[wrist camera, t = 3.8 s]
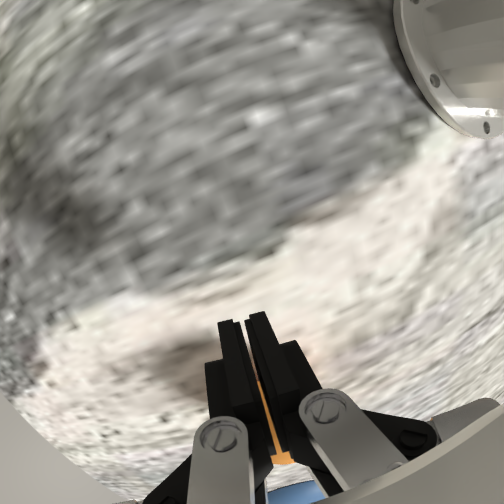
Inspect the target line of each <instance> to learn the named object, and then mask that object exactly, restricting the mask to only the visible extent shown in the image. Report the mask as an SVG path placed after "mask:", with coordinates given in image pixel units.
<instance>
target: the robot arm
mask: <svg viewBox="0 0 504 504" xmlns="http://www.w3.org/2000/svg"><path fill="white" fill-rule="evenodd" d="M393 16H394V25H395V31H396V34H397V38H398V42H399V46H400V49H401V51H402V54H403V56H404V59H405V61H406V64H407V66H408V68H409V70H410V72H411V74H412V76H413V78H414V80H415V82H416V84H417V86H418V87H419V89H420V90H421V92H422V93H423V95H424V97H425V98H426V100H427V101H428V102H429V104H430V105H431V106H432V107H433V109H434V110H435V111H436V113H437V114H438V115H439V116H440V117H441V118H442V119H443V120H444V121H445V122H446V123H447V124H448V125H449V126H451V127H452V128H454V129H455V130H457V131H458V132H460V133H461V134H464V135H466V136H469V137H472V138H480V139H493V138H495V137H497V136H499V135H501V134H502V133H503V132H504V0H394V5H393ZM249 318H250V319H247V320H244V322H245V326H246V330H247V334H248V338H249V343H250V347H251V351H252V355H253V359H254V363H255V367H256V371H257V375H258V378H259V382H260V385H261V388H262V392H263V395H264V398H265V401H266V404H267V407H268V411H269V414H270V417H271V420H272V423H273V426H274V429H275V432H276V435H277V438H278V441H279V444H280V447H281V450H282V453H284V452H288V451H289V454H290V457H291V459H293V460H294V462H297V463H300V464H302V465H305V466H306V467H307V470H308V472H309V473H310V475H311V476H312V478H313V479H314V481H315V483H316V484H317V486H318V487H319V489H320V490H321V492H322V493H323V495H324V496H325V499H322V500H319V501H316V502H313V503H310V504H504V404H502V405H500V404H499V403H498V402H497V401H495V400H493V399H491V398H481V399H478V400H476V401H473V402H471V403H468V404H466V405H464V406H461V407H458V408H456V409H453V410H451V411H448V412H445V413H442V414H439V415H437V416H434V417H432V418H431V420H430V421H427V422H424V421H420V420H416V419H409V418H403V417H397V416H392V415H387V414H381V413H376V412H371V411H367V410H362V409H360V408H359V407H358V406H357V405H356V404H355V403H354V402H353V400H352V399H351V398H350V397H349V396H348V395H346V394H345V393H344V392H342V391H339V390H337V389H329V388H328V389H322V387H321V385H320V383H319V381H318V379H317V378H316V376H315V374H314V372H313V370H312V368H311V367H310V365H309V363H308V361H307V359H306V357H305V356H304V354H303V352H302V350H301V348H300V346H299V345H298V343H297V341H296V340H293V341H290V342H286V343H283V344H279V343H278V340H277V338H276V336H275V334H274V331H273V329H272V327H271V325H270V323H269V320H268V318H267V316H266V314H265V312H264V311H262V312H258V313H254V314H250V315H249ZM217 324H218V330H219V336H220V342H221V348H222V354H223V359H220V360H216V361H211V362H207V363H205V376H206V387H207V397H208V406H209V415H210V420H208V421H206V422H204V423H203V424H202V425H201V426H200V427H199V428H198V429H197V431H196V433H195V436H194V442H193V450H192V454H191V455H190V456H189V457H188V458H187V459H186V460H185V461H184V462H183V463H182V464H181V465H180V466H179V467H178V468H177V469H176V470H175V471H174V472H173V473H171V474H170V475H169V476H168V477H167V478H166V479H165V480H164V481H163V482H162V483H161V484H160V485H159V486H157V487H156V488H155V489H154V490H153V491H152V492H151V493H150V494H149V495H148V496H147V497H146V498H145V499H144V500H143V501H138V502H137V501H136V500H130V501H125V502H120V503H115V504H268V492H267V481H266V477H267V475H268V474H269V473H270V471H271V470H272V469H273V462H272V459H271V456H273V455H277V452H276V448H275V445H274V441H273V437H272V434H271V430H270V426H269V423H268V419H267V415H266V411H265V408H264V404H263V400H262V397H261V393H260V390H259V387H258V383H257V380H256V377H255V373H254V370H253V367H252V363H251V360H250V357H249V353H248V350H247V346H246V343H245V339H244V336H243V332H242V329H241V325H240V322H235V323H233V319H230V320H226V321H222V322H218V323H217Z"/></svg>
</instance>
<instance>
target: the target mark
mask: <svg viewBox="0 0 504 504" xmlns="http://www.w3.org/2000/svg"><path fill="white" fill-rule="evenodd" d="M322 499H325V496H324V495H323V493H322V492H321V490H320V489H319V487H318V486H317V484H316V483H315V481H314V480H313V481H307V482H302V483H298V484H294V485H290V486H287V487H283V488H280V489H277V490H274V491H272V492H269V493H268V504H310V503H313V502H316V501H319V500H322Z"/></svg>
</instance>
